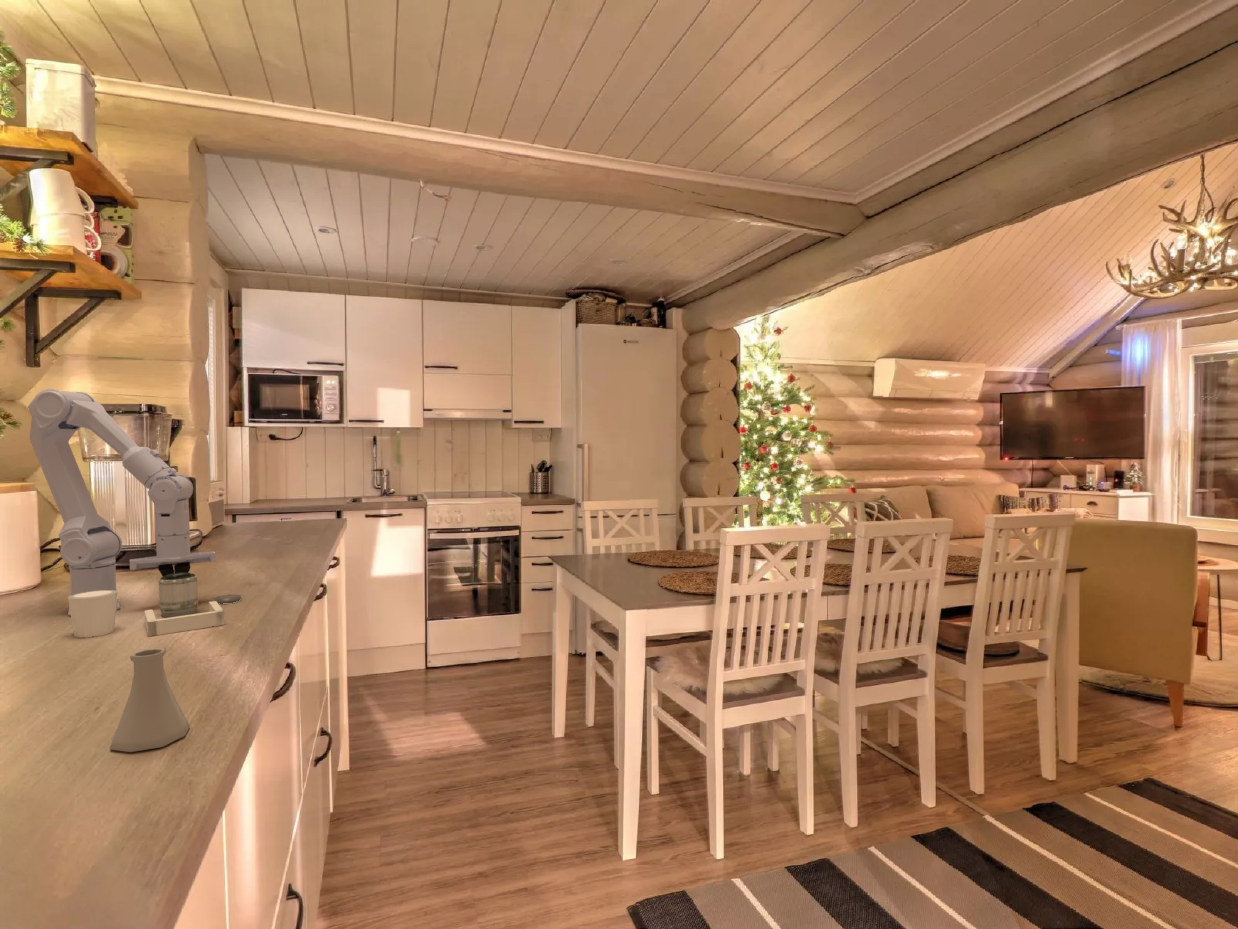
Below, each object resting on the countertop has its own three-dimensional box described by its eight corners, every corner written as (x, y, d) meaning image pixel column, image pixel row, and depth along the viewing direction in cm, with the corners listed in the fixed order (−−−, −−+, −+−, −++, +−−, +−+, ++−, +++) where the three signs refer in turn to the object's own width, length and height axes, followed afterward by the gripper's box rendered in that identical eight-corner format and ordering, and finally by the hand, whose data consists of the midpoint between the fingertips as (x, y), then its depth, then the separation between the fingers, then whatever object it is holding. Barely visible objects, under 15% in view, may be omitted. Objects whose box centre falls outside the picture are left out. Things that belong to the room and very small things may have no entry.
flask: (137, 727, 78) (135, 643, 78) (202, 724, 79) (199, 641, 78) (94, 756, 71) (91, 663, 71) (165, 753, 72) (162, 661, 71)
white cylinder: (91, 639, 113) (89, 598, 113) (58, 637, 115) (57, 597, 114) (128, 628, 120) (127, 589, 120) (97, 626, 121) (96, 588, 121)
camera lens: (205, 611, 131) (204, 572, 131) (172, 619, 125) (171, 578, 125) (185, 608, 134) (184, 570, 134) (152, 616, 128) (151, 575, 128)
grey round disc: (212, 602, 140) (212, 596, 140) (239, 598, 143) (239, 593, 143) (215, 607, 136) (215, 601, 136) (243, 603, 139) (242, 597, 139)
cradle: (144, 624, 123) (144, 610, 123) (216, 613, 130) (216, 600, 130) (148, 636, 115) (147, 622, 115) (224, 624, 122) (224, 611, 122)
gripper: (129, 540, 128) (132, 610, 128) (216, 533, 137) (219, 598, 137) (128, 536, 133) (130, 603, 134) (212, 529, 142) (214, 592, 143)
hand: (175, 600), depth 136 cm, fingers closed
